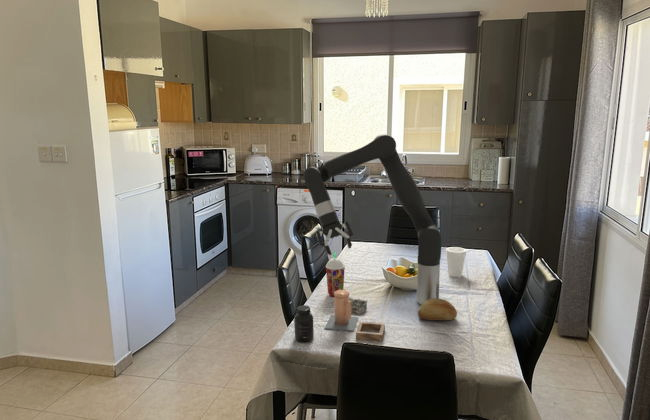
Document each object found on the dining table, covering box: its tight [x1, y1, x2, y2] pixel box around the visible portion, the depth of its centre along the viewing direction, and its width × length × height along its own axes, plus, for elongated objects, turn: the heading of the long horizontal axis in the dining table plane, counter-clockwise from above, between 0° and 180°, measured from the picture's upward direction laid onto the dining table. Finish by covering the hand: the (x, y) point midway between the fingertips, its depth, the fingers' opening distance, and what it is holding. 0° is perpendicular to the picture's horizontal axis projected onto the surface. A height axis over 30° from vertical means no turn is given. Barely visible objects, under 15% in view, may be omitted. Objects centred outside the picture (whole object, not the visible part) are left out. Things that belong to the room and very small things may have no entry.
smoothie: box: [325, 251, 346, 299], centre depth 210 cm, size 8×8×20 cm
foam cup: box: [445, 246, 467, 278], centre depth 235 cm, size 10×9×13 cm
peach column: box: [334, 289, 352, 325], centre depth 182 cm, size 8×6×12 cm
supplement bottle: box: [293, 304, 315, 344], centre depth 170 cm, size 7×7×12 cm
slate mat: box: [324, 314, 359, 333], centre depth 183 cm, size 11×12×1 cm
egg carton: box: [349, 297, 368, 314], centre depth 197 cm, size 11×8×4 cm
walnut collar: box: [355, 321, 386, 342], centre depth 174 cm, size 9×9×2 cm
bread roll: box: [417, 298, 458, 321], centre depth 186 cm, size 10×15×8 cm, turn 85°
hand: (340, 251), depth 191 cm, fingers open, 8 cm apart
